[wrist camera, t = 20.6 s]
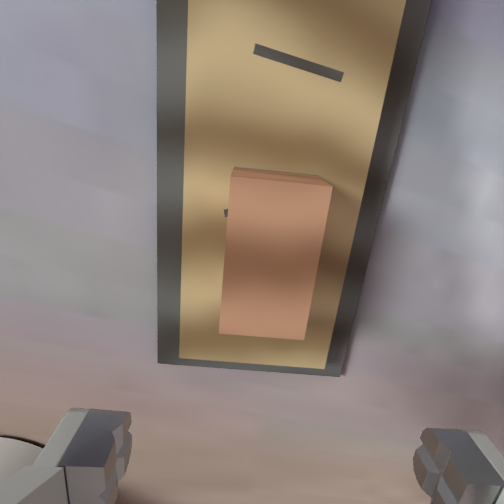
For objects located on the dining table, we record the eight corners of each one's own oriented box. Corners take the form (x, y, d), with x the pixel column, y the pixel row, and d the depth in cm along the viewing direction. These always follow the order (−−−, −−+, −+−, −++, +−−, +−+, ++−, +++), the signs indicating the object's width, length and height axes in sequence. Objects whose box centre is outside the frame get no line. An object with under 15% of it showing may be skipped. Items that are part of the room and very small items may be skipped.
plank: (337, 371, 28) (345, 391, 26) (159, 358, 27) (152, 377, 25) (474, -196, 16) (508, -245, 14) (159, -244, 15) (145, -303, 13)
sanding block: (295, 305, 23) (303, 340, 19) (223, 299, 23) (218, 333, 19) (317, 175, 20) (332, 186, 16) (234, 166, 20) (230, 176, 16)
